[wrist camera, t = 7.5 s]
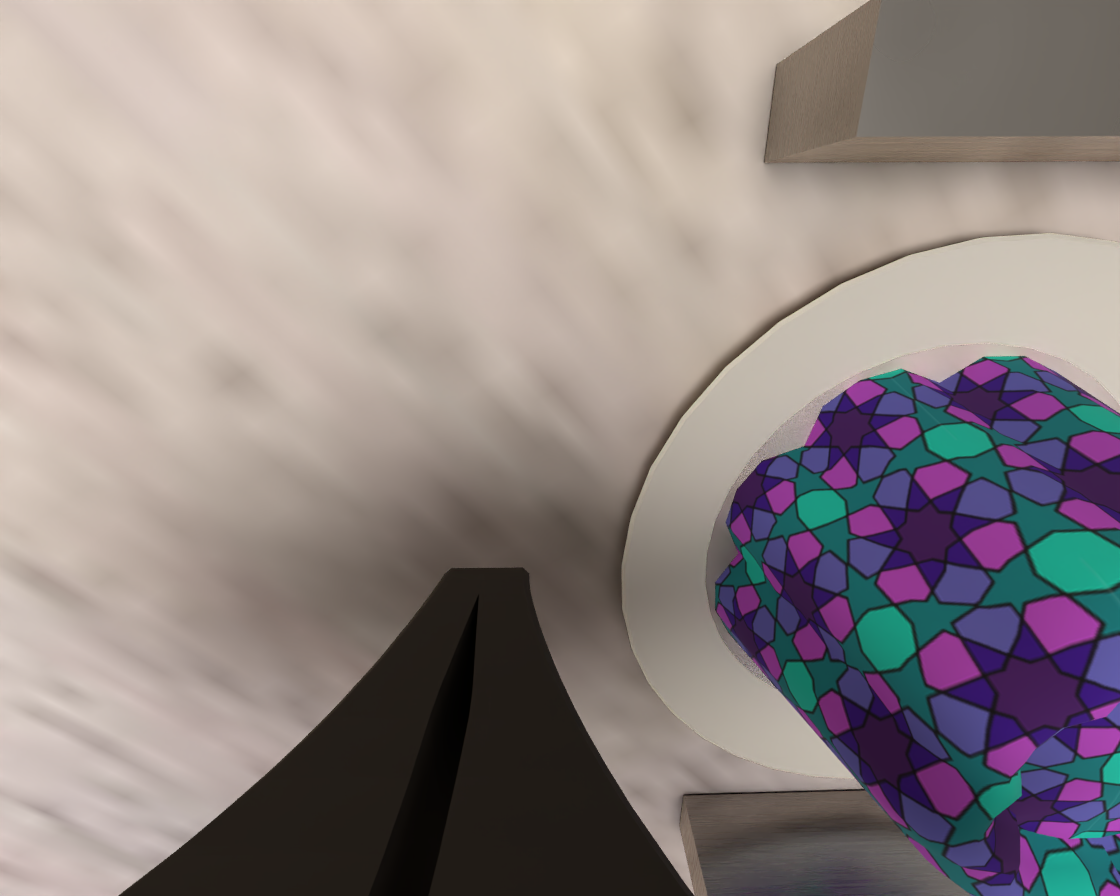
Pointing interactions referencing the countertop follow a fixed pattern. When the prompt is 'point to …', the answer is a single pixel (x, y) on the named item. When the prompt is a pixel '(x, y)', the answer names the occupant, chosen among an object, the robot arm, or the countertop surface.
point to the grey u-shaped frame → (907, 136)
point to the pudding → (914, 561)
